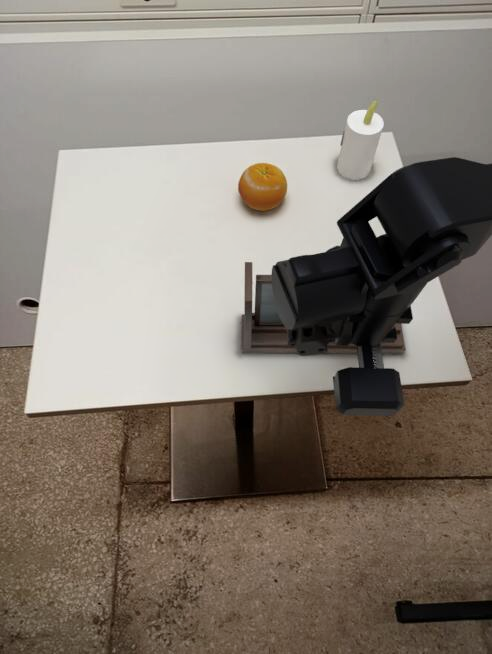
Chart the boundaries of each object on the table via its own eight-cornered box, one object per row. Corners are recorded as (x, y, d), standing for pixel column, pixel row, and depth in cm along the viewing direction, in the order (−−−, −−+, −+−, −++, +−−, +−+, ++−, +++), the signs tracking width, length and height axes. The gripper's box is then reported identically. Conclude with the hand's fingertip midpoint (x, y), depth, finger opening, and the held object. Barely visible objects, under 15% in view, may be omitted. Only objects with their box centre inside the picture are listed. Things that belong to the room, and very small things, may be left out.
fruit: (299, 173, 90) (277, 151, 84) (288, 218, 89) (265, 199, 83) (260, 175, 95) (237, 154, 89) (250, 218, 94) (225, 200, 88)
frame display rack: (397, 320, 80) (429, 263, 66) (402, 354, 77) (437, 302, 64) (241, 318, 80) (241, 261, 66) (241, 352, 77) (240, 300, 64)
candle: (338, 153, 98) (354, 83, 84) (372, 159, 97) (392, 90, 84) (333, 176, 95) (348, 108, 81) (367, 182, 94) (388, 115, 81)
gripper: (290, 205, 49) (270, 288, 63) (300, 382, 41) (275, 434, 55) (400, 211, 50) (357, 292, 64) (433, 386, 42) (375, 436, 55)
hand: (340, 358), depth 59 cm, fingers open, 9 cm apart
